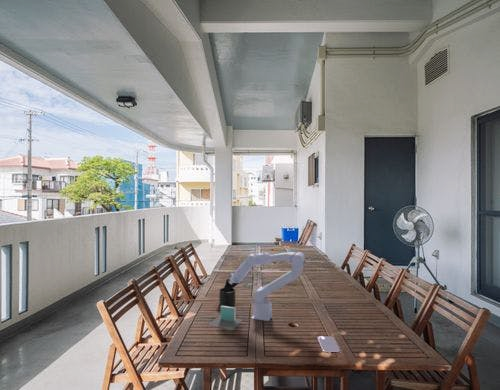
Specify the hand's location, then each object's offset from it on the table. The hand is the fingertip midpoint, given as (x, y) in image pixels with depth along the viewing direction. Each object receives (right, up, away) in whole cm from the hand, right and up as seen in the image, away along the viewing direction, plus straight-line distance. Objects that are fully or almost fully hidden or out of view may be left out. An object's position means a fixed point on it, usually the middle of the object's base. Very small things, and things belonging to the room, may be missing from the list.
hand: (226, 290), depth 184 cm
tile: (+1, -13, -10) cm, 16 cm away
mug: (-1, -13, +13) cm, 18 cm away
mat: (0, -13, -13) cm, 18 cm away
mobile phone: (+48, -15, -35) cm, 61 cm away
